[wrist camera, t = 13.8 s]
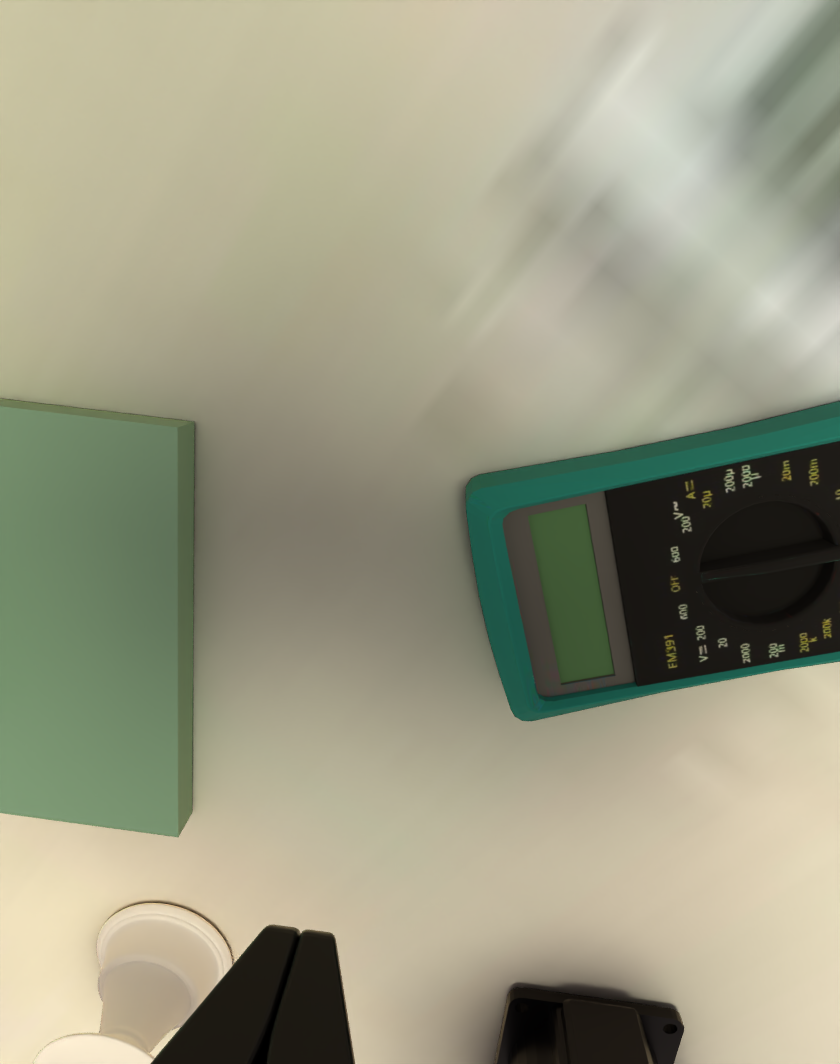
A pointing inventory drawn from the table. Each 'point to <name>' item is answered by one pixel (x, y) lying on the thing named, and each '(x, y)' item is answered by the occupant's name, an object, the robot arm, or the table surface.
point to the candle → (145, 983)
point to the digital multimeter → (661, 564)
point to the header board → (96, 617)
